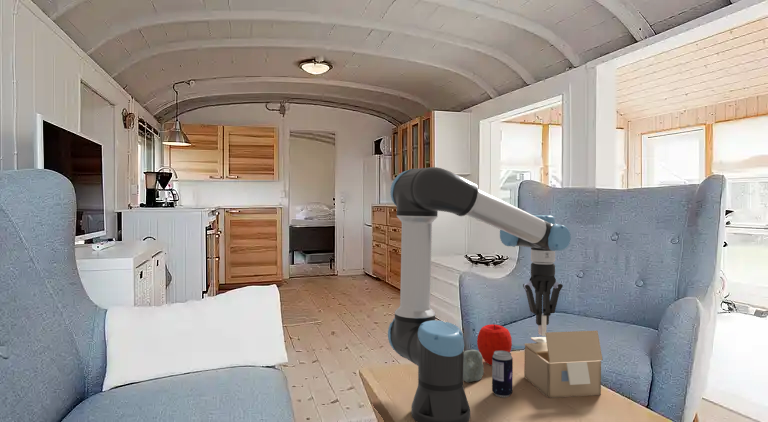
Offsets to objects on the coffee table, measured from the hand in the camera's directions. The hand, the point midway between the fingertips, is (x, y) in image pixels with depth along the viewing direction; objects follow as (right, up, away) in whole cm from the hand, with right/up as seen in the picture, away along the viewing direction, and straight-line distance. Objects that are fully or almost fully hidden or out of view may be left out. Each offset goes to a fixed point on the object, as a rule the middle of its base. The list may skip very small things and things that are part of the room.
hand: (542, 334), depth 158 cm
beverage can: (-18, -13, -19) cm, 29 cm away
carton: (+2, -12, -12) cm, 17 cm away
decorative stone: (-26, -12, -5) cm, 29 cm away
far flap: (+1, -2, -5) cm, 6 cm away
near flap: (+3, -1, -20) cm, 21 cm away
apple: (-14, -12, +7) cm, 20 cm away
